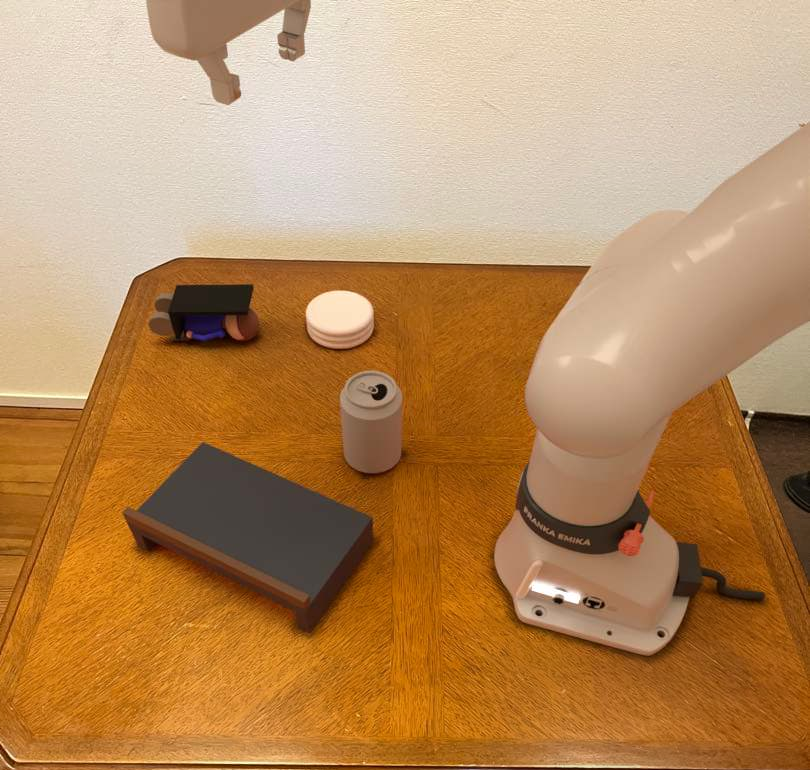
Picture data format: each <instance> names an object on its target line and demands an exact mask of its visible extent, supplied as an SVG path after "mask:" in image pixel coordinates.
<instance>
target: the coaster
mask: <svg viewBox="0 0 810 770" xmlns="http://www.w3.org/2000/svg"><path fill="white" fill-rule="evenodd" d="M374 311H375V310H374V308H373V305H372V303H371V301H369V299H367V298H366V297H364V296H363V295H361V294H359V293H357V292H353V291H349V290H331V291H327V292H324V293H321V294H319V295H317V296H316V297H314V298H313V299H312V300H311V301H310V302H309V304H308V305H307V307H306V309H305V319H306V320H305V323H306V330H307V333H308V335H309V337H310V338H311V339H312V340H313V341H314V342H315V343H317V344H318V345H320V346H322V347H326V348H329V349H336V350H347V349H351V348H354V347H358V346H359V345H362V344H363V343H365V342H366V341H367V340H368V339H370V337H371V336H372V334H373V332H374V327H375V323H374V321H375V319H374V317H375V316H374V315H375V314H374V313H375V312H374Z"/></svg>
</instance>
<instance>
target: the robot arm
mask: <svg viewBox="0 0 810 770" xmlns="http://www.w3.org/2000/svg"><path fill="white" fill-rule="evenodd" d="M145 4H146V10H147V16H148V17H147V18H148V23H149V28H150V33H151V36H152V39H153V40H154V42H155V43H156V44H157V45H158V47H159V48H160V49H161V50H162V51H163V52H164V53H167V54H169V55H172V56H175V57H178V58H182V59H186V60H190V61H196V62H197V63H198V64H199V65H200V67H201V69H202V70H203V71H204V73H205V74H206V76H207V77H208V78H209V82H210V88H211V93H212V97H213V100H215V101H216V103H219V104H222V105H225V106H230V105H231V104H233V103H234V102H236V101H238V100H239V99H240V98H242V97H241V96H242V90H241V89H240V86H241V81H240V75H238V74H235V73H231V72H230V70H229V68H228V66H227V64H226V62H225V59H227V58H228V57H229V52H228V45H227V44H228V43H230V42H232V41H233V40H235V39H237V38H238V37H240V36H242V35H243V34H245V33H247V32H248V31H250V30H252V29H254V28H255V27H257V26H258V25H261V24H262V23H263V22H265V21H267V20H269V19H271V18H272V17H274V16H275V15H277V14H278V13H281V12H282V11H284V12H283V20H282V29H281V32H279V33H278V34H277V36H276V37H277V44H278V53H279V54H278V55H279V56H280V58H281V59H283V60H289V61H290V62H295V61H296V60H298V59H300V58H302V57H303V56H304V55H305V54H306V45H305V33H306V30H307V25H308V21H309V16H310V12H311V8H312V1H311V0H145ZM809 322H810V121H809V122H807V123H806V124H805V125H802V127H800V128H799V129H797V130H796V131H794V132H793V133H791V134H790V135H789V136H787V137H786V138H783V139H782V140H781V141H780V142H778V143H777V144H775V145H774V146H773V147H771V148H770V149H768V150H767V151H765V152H763V153H762V154H761V155H759V156H758V157H757V158H755V159H754V160H752V161H751V162H749V163H748V164H746V165H745V166H743V167H742V168H740V169H739V170H737V172H734V174H732V175H730V176H728V178H726V179H725V180H723V181H722V182H721V183H720V184H719V185H718V186H717V187H715V189H713V190H712V192H711V193H710V194H709V195H707V197H706V198H704V199H703V200H702V201H701V202H700V203H699V204H698V205H697V206H696V207H694V208H693V209H692V211H690V212H688V211H684V210H678V209H664V210H659V211H655V212H652V213H649V214H646V215H645V216H642V217H641V218H640V219H638V220H637V221H634V222H633V223H632V224H630V225H629V226H628V227H627V228H625V229H624V230H623V231H621V232H620V233H619V234H617V235H616V236H615V237H614V238H613V239H611V240H610V241H609V242H608V243H607V244H606V245H605V246H604V247H603V249H602V250H601V251H600V253H599V255H598V256H597V257H596V259H595V260H594V262H593V263H592V265H591V266H590V267H589V269H588V271H587V272H586V273H585V274H584V276H583V278H582V279H581V281H580V282H579V283H578V285H577V286H576V287H575V289H574V291H573V292H572V294H571V295H570V296H569V298H568V300H567V301H566V303H565V304H564V306H563V307H562V308H561V310H560V311H559V313H558V314H557V316H556V317H555V319H554V320H553V322H552V323H551V324H550V326H549V327H548V329H547V330H546V332H545V333H544V335H543V337H542V338H541V340H540V342H539V345H538V347H537V350H536V353H535V357H534V359H533V361H532V365H531V368H530V371H529V374H528V377H527V381H526V384H525V390H524V401H525V407H526V411H527V413H528V416H529V418H530V420H531V422H532V423H533V425H534V426H535V428H536V432H535V436H534V440H533V445H532V449H531V453H530V457H529V460H528V462H527V464H526V465H525V467H524V469H522V473H521V475H520V478H519V481H518V485H517V490H516V494H515V498H516V500H515V505H514V506H515V511H514V512H513V514H512V517H511V519H510V521H509V523H508V524H507V526H506V527H504V529H503V531H502V532H501V533H500V535H499V537H498V538H497V540H496V543H495V548H494V554H493V556H494V557H493V558H494V567H495V569H496V573H497V575H498V577H499V579H500V581H501V582H502V584H503V586H504V587H505V588H506V590H507V591H508V592H509V594H510V596H511V598H512V603H513V607H514V611H515V615H516V616H517V618H518V620H520V622H522V623H525V624H527V625H531V626H535V627H537V628H538V627H539V628H542V629H546V630H549V631H553V632H556V633H559V634H564V635H567V636H571V637H575V638H579V639H582V640H586V641H589V642H593V643H598V644H600V645H605V646H608V647H611V648H614V649H618V650H622V651H626V652H629V653H630V652H631V653H633V654H637V655H641V656H645V657H650V656H652V655H655V654H656V653H657V652H659V651H661V650H662V649H664V647H666V646H667V645H668V644H669V642H670V641H672V639H673V637H674V636H675V635H676V633H677V631H678V629H679V628H680V625H681V623H682V621H683V618H684V616H685V614H686V611H687V607H688V604H689V601H690V598H694V597H696V595H697V594H698V592H699V590H700V588H701V587H702V586H703V583H704V581H703V577H706V578H710V579H712V580H715V581H716V584H715V588H716V591H718V593H720V594H722V595H723V596H725V597H728V598H731V599H739V600H741V599H742V600H743V599H744V600H756V601H764V599H765V596H766V595H765V592H764V591H756V590H741V589H734V588H730V587H728V586H726V585H727V578H726V576H725V575H723V574H722V573H721V572H719V571H717V570H714V569H711V568H708V567H703V566H701V562H700V561H701V560H700V554H699V547H698V543H693V542H680V541H676V540H675V538H674V537H673V535H671V534H670V533H669V532H668V531H667V530H666V529H664V528H663V527H662V526H661V525H660V524H659V523H658V522H657V521H656V520H655V519H654V518H653V517H652V516H651V515H650V514H651V511H650V508H651V505H652V503H653V501H654V495H655V494H654V493H655V491H654V489H652V490H651V491H650V494H649V495H648V498H647V500H646V501H645V500H644V498H643V496H642V495H641V493H640V491H639V489H640V487H641V484H642V482H643V479H644V477H645V474H646V473H647V470H648V468H649V465H650V463H651V461H652V458H653V456H654V454H655V451H656V449H657V447H658V444H659V442H660V440H661V438H662V435H663V434H664V431H665V429H666V427H667V424H668V422H669V420H670V418H671V416H672V414H673V413H674V412H675V411H677V410H678V409H680V408H681V407H682V406H684V405H685V404H686V403H688V402H689V401H691V400H692V399H694V398H695V397H697V396H698V395H700V394H701V393H702V392H705V391H706V390H707V389H709V388H710V387H711V386H713V385H714V384H716V383H718V382H719V381H720V380H722V379H723V378H726V376H728V375H729V374H731V373H732V372H733V371H735V370H736V369H738V368H739V367H740V366H742V365H743V364H745V363H746V362H748V361H749V360H750V359H752V358H753V357H755V356H756V355H758V354H759V353H760V352H762V351H763V350H765V349H766V348H768V347H770V346H772V344H774V343H775V342H777V341H778V340H780V339H782V338H783V337H785V336H787V335H788V334H789V333H791V332H793V331H795V330H797V329H798V328H800V327H802V326H804V325H805V324H807V323H809ZM537 614H540V616H539V615H537ZM659 635H661V637H660V636H659Z"/></svg>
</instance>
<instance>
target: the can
mask: <svg viewBox="0 0 810 770" xmlns="http://www.w3.org/2000/svg"><path fill="white" fill-rule="evenodd" d="M339 394H340V395H339V408H340V423H341V425H340V426H341V435H342V437H341V438H342V451H343V456H344V459H345V462H346V463H347V464H348V465H349V466H350V467H351V468H353V469H354V470H356V471H358V472H362V473H364V474H379V473H384V472H386V471H389V470H390V469H392V468H394V467H395V466H396V465H397V464H398V463H399V461H400V459H401V457H402V440H403V439H402V437H403V393H402V390H401V388H400V387H399V386H398V385H397V382H396V380H395V379H394V378H393V377H392V376H391V375H389V374H387V373H385V372H382V371H379V370H364V371H360V372H357V373H354V374H352V376H350V377H349V378H348V379H347V380H346V382H345V384H344V386H343V388H342V389H341V391H340V393H339Z"/></svg>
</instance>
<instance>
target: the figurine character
mask: <svg viewBox="0 0 810 770" xmlns="http://www.w3.org/2000/svg"><path fill="white" fill-rule="evenodd" d="M254 289H255V288H254V283H253V284H252V283H251V284H250V283H248V284H243V283H242V284H238V283H237V284H176V286H175V288H174V291H173V293H169V292H162V293H160V294H158V295H157V297H156V299H155V301H154V309H155V310H156V311H157V312H153V313H152V314H151V315H150V318H149V321H148V327H149V330H151V332H153V333H154V334H155V335H157V336H162V337H169V336H171V335H173V334H174V337H172V338H170V341H171V342H180V341H181V342H185V341H190V340H191V339H194V340H198V341H203V342H206V341H210V340H212V339H216V338H221V339H222V338H224V337H225V335H226V334H228V335H229V336H230V337H232V338H233V339H234V340H236V341H240V342H245V341H249V340H251V339H253V338H254V337H256V335H257V334H258V332H259V328H260V319H259V316H258V314H257V313H256V312H255V310H253V308H251V307H250V306H251V302H252V298H253V293H254ZM182 335H183V336H182Z"/></svg>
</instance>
